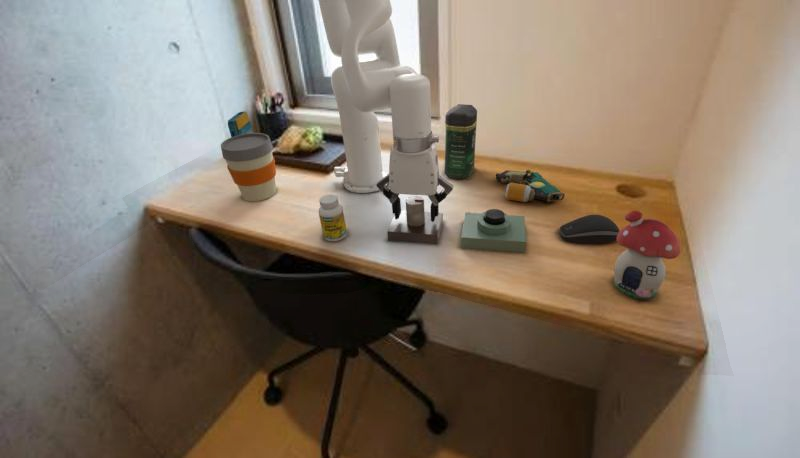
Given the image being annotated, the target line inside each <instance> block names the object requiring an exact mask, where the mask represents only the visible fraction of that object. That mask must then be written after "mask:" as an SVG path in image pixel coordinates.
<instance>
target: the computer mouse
mask: <svg viewBox="0 0 800 458" xmlns="http://www.w3.org/2000/svg"><path fill="white" fill-rule="evenodd" d="M620 231H621V229H620V228H619V227H618V225H617V224H616V223H615V222H614V220H612V219H610V218H609V217H607V216H605V215H602V214H587V215H584V216H581V217H579V218H576V219H574V220H571V221H569V222H567V223H564V224H562V225H561V226H559V235H560V237H561V238H562V240H564V241H565V242H567V243H573V244H588V245H603V244H604V245H605V244H611V243H613V242H617V235H618V233H619V232H620Z"/></svg>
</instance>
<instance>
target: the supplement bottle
mask: <svg viewBox="0 0 800 458" xmlns="http://www.w3.org/2000/svg"><path fill="white" fill-rule="evenodd" d="M339 202H340V201H339V196H338V195H336V194H332V193H330V194H325V195H323V196H320V198H319V206H320V207H319V208H318V217H319V221H320V227H321V231H322V235H323V239H324V240H326V241H328V242H338V241H341V240H343V239H344V238H345V237H346V236H347V233H348V231H347V224H346V218H345V212H344V207H343V205H342V204H340V203H339Z"/></svg>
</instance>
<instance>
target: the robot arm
mask: <svg viewBox="0 0 800 458" xmlns="http://www.w3.org/2000/svg"><path fill="white" fill-rule="evenodd" d="M391 3H392V2H391V0H318V5H319V11H320V14H321V18H322V22H323V26H324V32H325V36H326V39H327V44H328V47H329V49H330V51H331V53H332V54H333V55H334V56H336V57H337V58H341V59H340V61H341V62H340V63H341V65H339V66H338V67H336V68H334V70H333V71H332V73H331V76H330V85H331V89H332V92H333V95H334V96H333V97H334V99H335V102H336V106H337V110H338V115H339V121H340V128H341V134H342V142H343V147H344V155H345V162H346V166H344V167H343V166H334V168H333V173H334V174H335V177H336V178H344V179H343V181H342V182H343V187H344V188H345V189H346V190H347V191H349V192H352V193H357V194H368V193H369V194H370V193H375V192H377V191H380V192H382V194H383V196H384V197H385V198H387V199H388V200H389V203H390V204H391V211H392V214H395V219H399V216H400V214H401V211H402V207H401V206H402V205H401V198H400V195H410V196H427V197H428V198H429V199H428V200H430V203H431V204H430V212H431V221H432V222H434V220H435V217H436V216H438V214H439V213H440V210H439V208H440V207H439V205H440V203H441V202H442V201H443V200H445V199H446V198H447V197H448V196H449V195H450V193H452V191H453V189H454V185H453V183H451V182H450V181H448V180H447V179H446V178H444V177H443V176H442V175H440V166H439V157H438V152H437V147H436V145H435V144H439V141H440V136H439V135H435V134H434V133H433V130H432V103H431V102H432V100H431V99H432V98H431V97H432V96H431V94H432V93H431V82H430V79H429V78H428V77H427V76H426V75H423V74H419V73H417V71H416V70H415V69H414V68H412V66H409V65H401V62H400V61H401V60H400V56H399V50H398V45H397V40H396V33H395V29H394V26H393V25H394V24H393V23H392V20H391V16H392V14H393V8H392V4H391ZM365 55H374V58H373V59H367V60H360V57H359V56H365ZM386 109H390V111H391V112H390V114H391V127H392V141H393V143H392V145H391V147H390V152H389V163H388V164H389V165H388V167H389V168H388V174H387V173H386V172H385V171H383V160H382V159H383V158H382V149H381V137H380V127H379V119H378V116H377V114H376V113H375V112H377V111H378V112H379V111H382V110H386ZM388 185H389V187H388ZM439 186H440V187H442V188H443V189H442V190H441V191H439V192H438V187H439Z"/></svg>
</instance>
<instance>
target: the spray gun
mask: <svg viewBox="0 0 800 458" xmlns="http://www.w3.org/2000/svg"><path fill="white" fill-rule="evenodd" d="M495 180H496V181H497V182H498V183H502V184H505V183H507V185H506V189H505V194H504V195H505V196H504V197H505V198H506V199H507V200H508V201H516V202H520V203H527V202H528V201H529V202H530V201H533V200H534V199H536V200H542V201H545V202H547V203H550V202H557V201H563V200H564V198H565V193H564V192H562V191H561V190H559V189H558V188H557V187H556V185H552V184H551V183H550V182H548V181H547V180H546V179H545V178H544V177H543V176H542V174H541V173H539V172H537V171H532V170H530V169H529V168H527V169H526V170H525V171H519V170H509V169H508V170H504V171H502V172H501V173H499V172H496V173H495Z"/></svg>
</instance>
